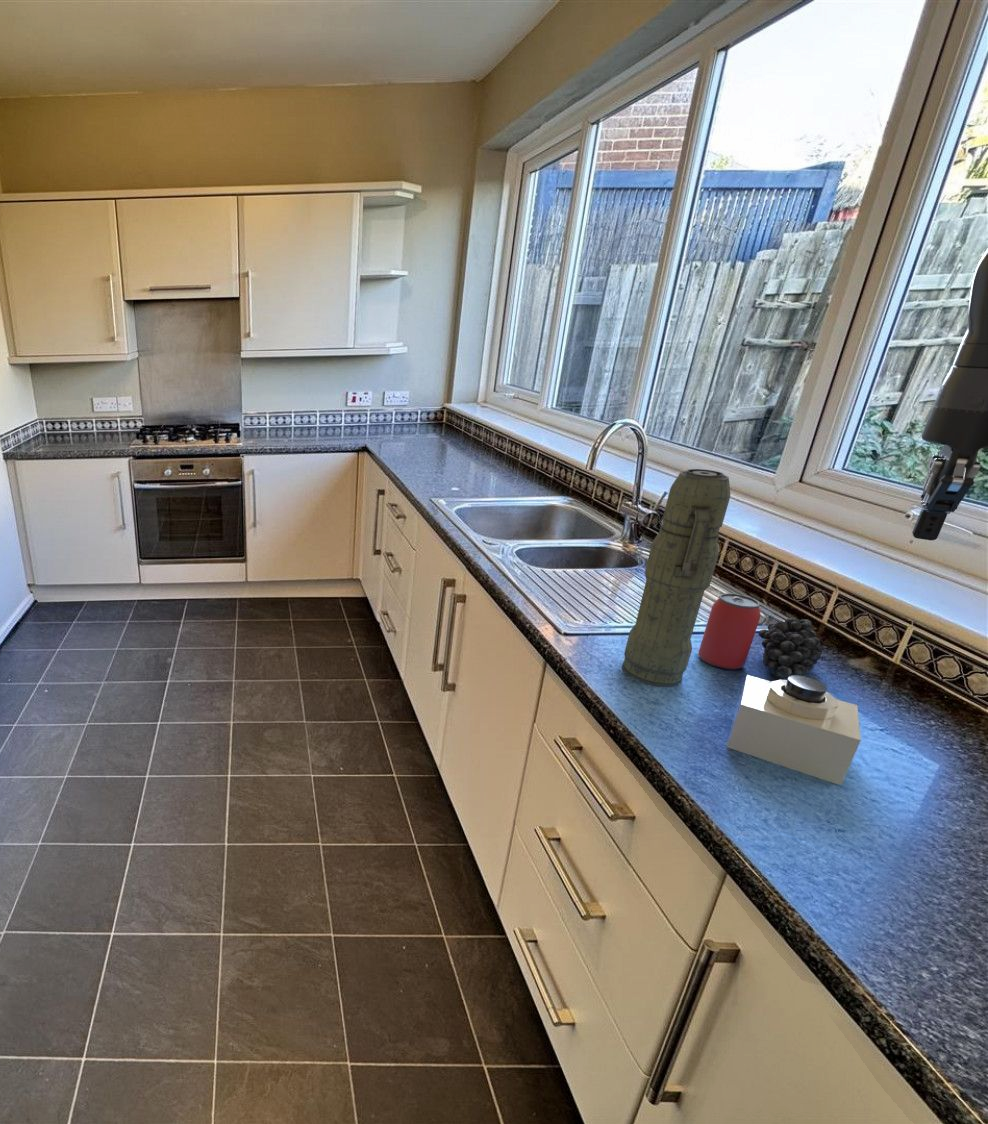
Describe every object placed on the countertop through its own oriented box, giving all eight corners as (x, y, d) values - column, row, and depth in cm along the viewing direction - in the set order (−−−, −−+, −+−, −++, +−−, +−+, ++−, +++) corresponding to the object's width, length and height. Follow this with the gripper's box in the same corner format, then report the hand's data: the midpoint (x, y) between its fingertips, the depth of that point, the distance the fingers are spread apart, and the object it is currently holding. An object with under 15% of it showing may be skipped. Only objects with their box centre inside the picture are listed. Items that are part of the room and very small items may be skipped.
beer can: (738, 656, 110) (757, 595, 106) (748, 674, 105) (769, 611, 100) (693, 649, 113) (711, 589, 108) (701, 666, 107) (720, 604, 103)
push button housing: (839, 748, 86) (862, 693, 83) (841, 786, 80) (866, 728, 76) (733, 715, 94) (750, 664, 91) (726, 747, 87) (744, 693, 84)
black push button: (821, 695, 84) (827, 682, 83) (822, 708, 81) (827, 694, 80) (783, 684, 86) (788, 671, 85) (782, 696, 83) (787, 684, 83)
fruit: (813, 643, 96) (822, 611, 105) (745, 641, 102) (759, 611, 112) (819, 695, 97) (827, 658, 107) (752, 690, 103) (765, 655, 113)
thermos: (670, 660, 109) (724, 465, 96) (692, 696, 99) (756, 483, 86) (614, 652, 112) (659, 462, 99) (629, 686, 102) (682, 479, 89)
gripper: (1039, 413, 69) (973, 558, 75) (1013, 402, 78) (957, 531, 84) (941, 408, 73) (887, 544, 80) (928, 398, 83) (880, 521, 89)
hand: (923, 537), depth 82 cm, fingers closed
